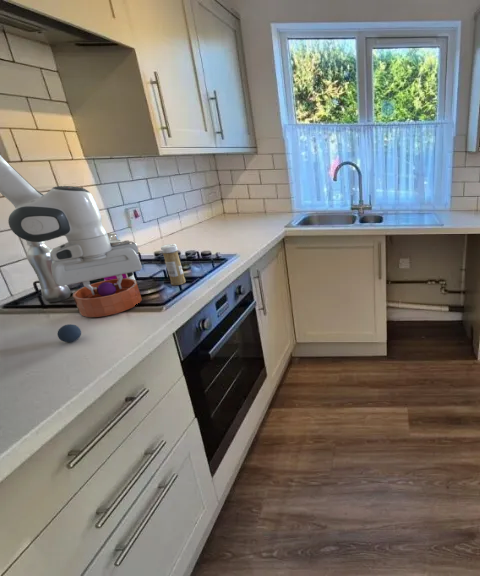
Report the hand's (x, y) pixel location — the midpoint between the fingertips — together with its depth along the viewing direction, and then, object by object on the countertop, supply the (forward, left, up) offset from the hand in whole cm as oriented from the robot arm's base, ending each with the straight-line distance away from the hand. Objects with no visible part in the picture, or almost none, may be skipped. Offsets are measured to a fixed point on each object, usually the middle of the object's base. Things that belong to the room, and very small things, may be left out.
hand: (107, 291), depth 106 cm
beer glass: (-24, +19, -5) cm, 31 cm away
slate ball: (+10, -17, -5) cm, 20 cm away
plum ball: (0, 0, -2) cm, 2 cm away
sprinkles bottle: (+4, +20, -5) cm, 21 cm away
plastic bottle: (-21, -2, -5) cm, 22 cm away
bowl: (0, 0, -5) cm, 5 cm away
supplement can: (-14, +13, -5) cm, 20 cm away
